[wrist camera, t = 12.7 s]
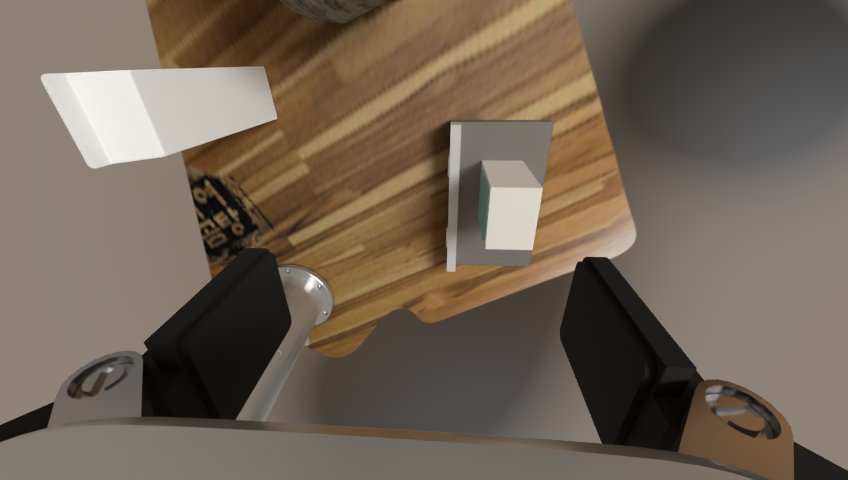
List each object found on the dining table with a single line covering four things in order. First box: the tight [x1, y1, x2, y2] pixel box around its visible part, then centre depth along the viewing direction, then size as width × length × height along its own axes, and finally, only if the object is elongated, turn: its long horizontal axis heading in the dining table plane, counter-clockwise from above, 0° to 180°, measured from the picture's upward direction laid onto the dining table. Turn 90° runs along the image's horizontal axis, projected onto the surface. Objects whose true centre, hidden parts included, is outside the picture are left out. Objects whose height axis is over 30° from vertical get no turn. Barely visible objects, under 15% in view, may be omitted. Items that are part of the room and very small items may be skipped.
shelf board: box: [446, 120, 554, 272], centre depth 43 cm, size 20×12×4 cm, turn 1°
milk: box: [41, 66, 277, 169], centre depth 31 cm, size 6×6×22 cm
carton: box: [478, 160, 543, 250], centre depth 38 cm, size 7×5×10 cm
